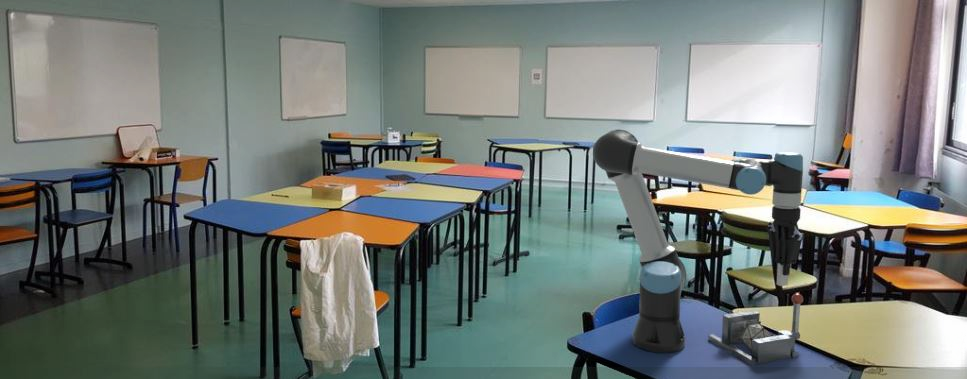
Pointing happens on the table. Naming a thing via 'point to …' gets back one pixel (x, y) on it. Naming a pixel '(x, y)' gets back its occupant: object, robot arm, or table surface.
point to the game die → (754, 334)
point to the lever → (796, 314)
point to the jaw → (737, 325)
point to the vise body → (763, 348)
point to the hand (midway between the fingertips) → (782, 284)
